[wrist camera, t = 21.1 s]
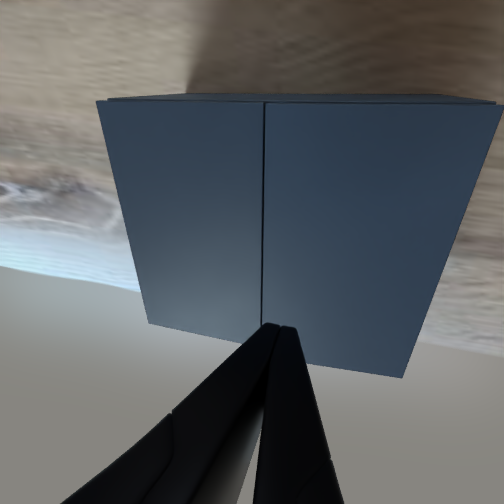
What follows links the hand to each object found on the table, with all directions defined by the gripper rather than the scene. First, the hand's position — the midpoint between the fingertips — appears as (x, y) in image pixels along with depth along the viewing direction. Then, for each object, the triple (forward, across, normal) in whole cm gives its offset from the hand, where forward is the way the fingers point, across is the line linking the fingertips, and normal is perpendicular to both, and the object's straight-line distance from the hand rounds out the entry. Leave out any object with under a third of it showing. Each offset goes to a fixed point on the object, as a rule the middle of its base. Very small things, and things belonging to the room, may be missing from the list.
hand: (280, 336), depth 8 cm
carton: (+12, +2, 0) cm, 12 cm away
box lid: (+4, -2, 0) cm, 5 cm away
